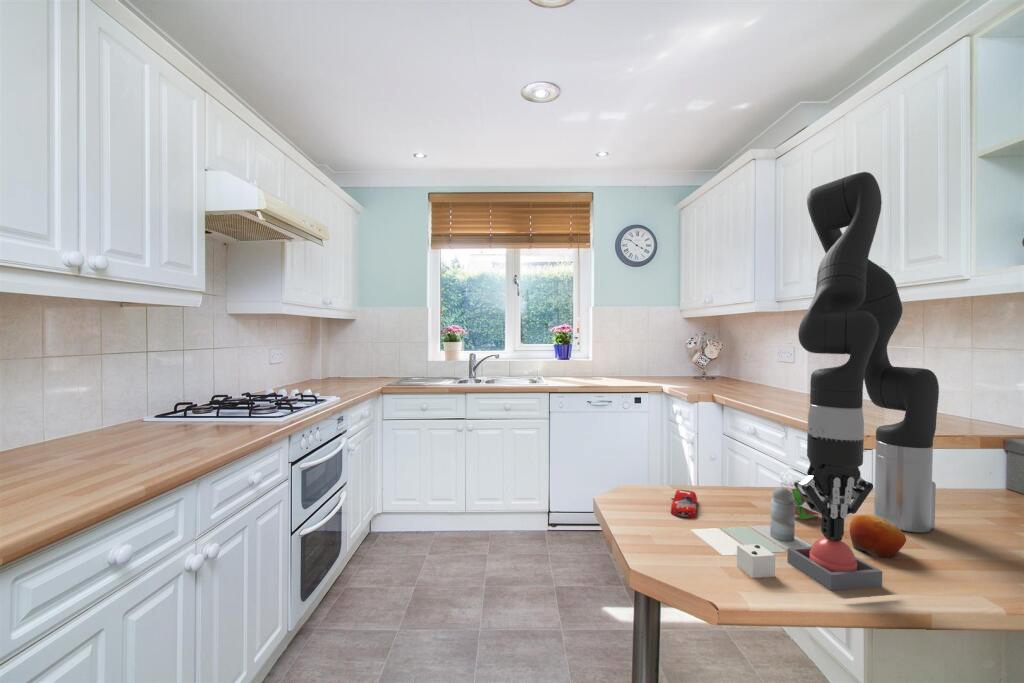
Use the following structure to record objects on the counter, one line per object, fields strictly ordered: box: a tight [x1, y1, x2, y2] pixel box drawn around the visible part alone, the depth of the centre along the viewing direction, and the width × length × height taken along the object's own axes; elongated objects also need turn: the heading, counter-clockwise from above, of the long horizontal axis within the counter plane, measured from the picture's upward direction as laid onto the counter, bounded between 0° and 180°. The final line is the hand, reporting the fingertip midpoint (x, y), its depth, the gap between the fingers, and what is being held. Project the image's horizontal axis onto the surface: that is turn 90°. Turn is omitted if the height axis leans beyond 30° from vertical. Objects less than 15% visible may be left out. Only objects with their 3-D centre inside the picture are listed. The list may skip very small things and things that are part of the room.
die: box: [736, 544, 776, 579], centre depth 76 cm, size 4×4×4 cm
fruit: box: [849, 513, 907, 558], centre depth 84 cm, size 8×8×8 cm
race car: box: [670, 489, 698, 519], centre depth 104 cm, size 13×5×4 cm, turn 155°
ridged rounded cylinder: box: [770, 487, 796, 542], centre depth 89 cm, size 4×4×10 cm
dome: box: [809, 536, 857, 572], centre depth 76 cm, size 6×6×6 cm
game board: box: [690, 524, 813, 557], centre depth 88 cm, size 20×12×1 cm, turn 98°
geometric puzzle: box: [790, 488, 822, 521], centre depth 100 cm, size 7×7×8 cm
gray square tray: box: [786, 547, 883, 592], centre depth 76 cm, size 9×9×3 cm
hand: (832, 538), depth 76 cm, fingers closed
